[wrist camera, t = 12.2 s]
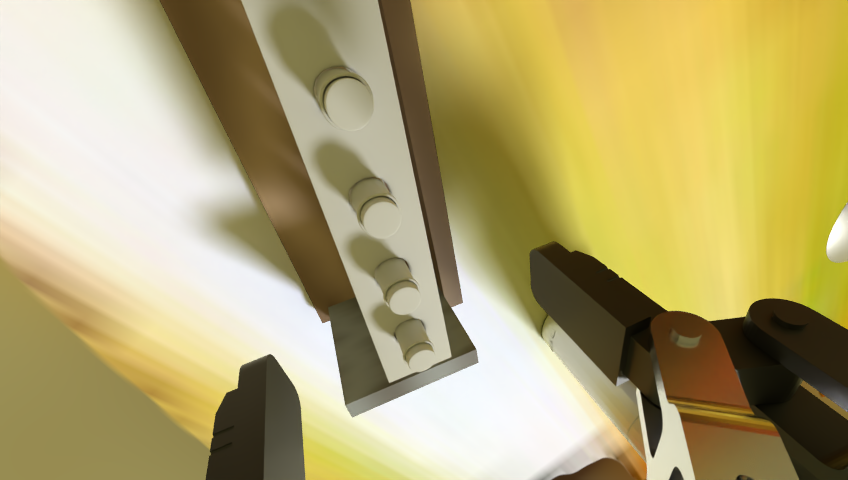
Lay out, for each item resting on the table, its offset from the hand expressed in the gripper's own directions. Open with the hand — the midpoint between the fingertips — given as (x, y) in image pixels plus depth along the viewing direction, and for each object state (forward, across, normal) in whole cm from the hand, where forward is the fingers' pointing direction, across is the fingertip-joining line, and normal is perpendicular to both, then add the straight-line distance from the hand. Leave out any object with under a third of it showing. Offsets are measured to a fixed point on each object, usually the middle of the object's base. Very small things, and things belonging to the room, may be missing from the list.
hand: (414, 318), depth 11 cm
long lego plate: (+18, 0, -1) cm, 18 cm away
